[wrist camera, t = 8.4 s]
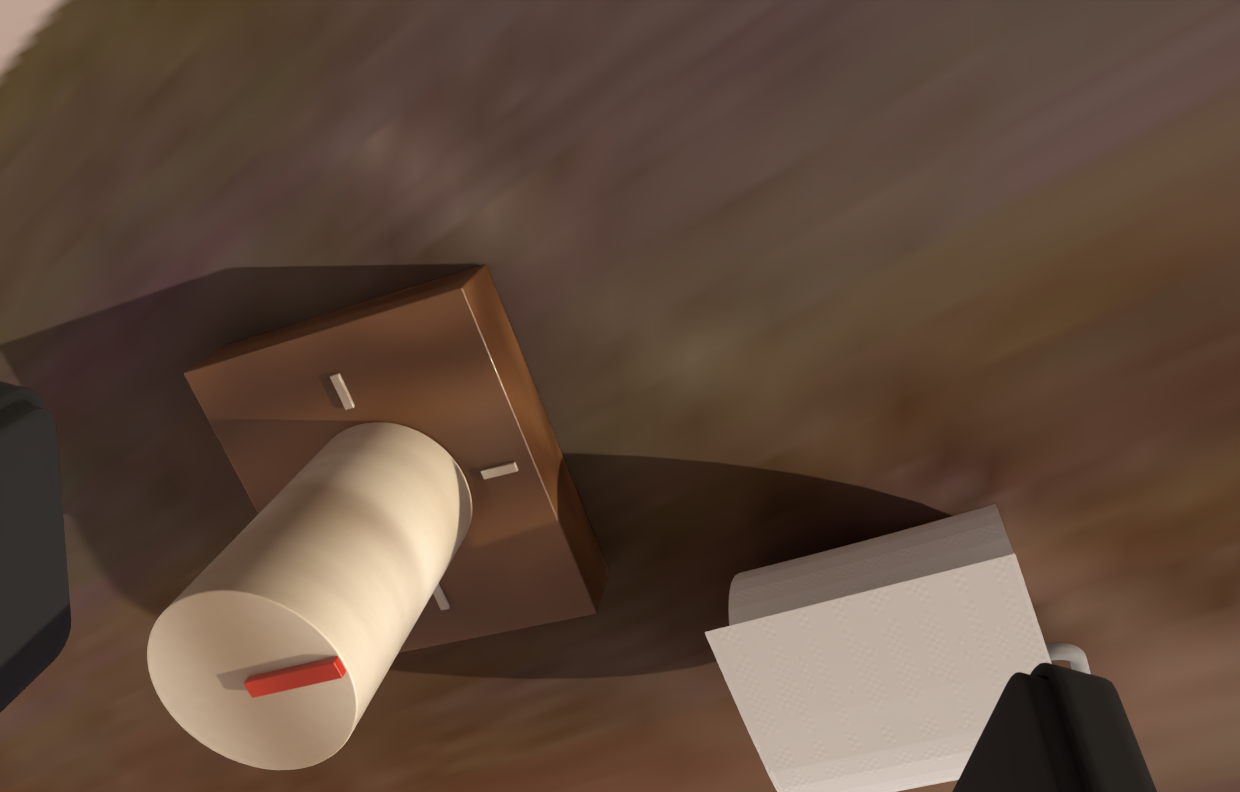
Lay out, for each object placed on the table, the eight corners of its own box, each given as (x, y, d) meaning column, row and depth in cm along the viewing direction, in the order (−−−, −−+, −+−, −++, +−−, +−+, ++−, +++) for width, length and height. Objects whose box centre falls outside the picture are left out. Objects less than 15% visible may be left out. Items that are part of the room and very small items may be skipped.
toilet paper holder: (1061, 546, 28) (1177, 915, 33) (1004, 417, 36) (1104, 729, 41) (667, 645, 32) (821, 964, 37) (693, 509, 40) (818, 786, 44)
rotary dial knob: (359, 582, 40) (210, 793, 30) (286, 446, 38) (99, 623, 28) (498, 546, 38) (390, 758, 28) (429, 401, 36) (285, 574, 26)
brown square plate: (223, 345, 40) (179, 374, 38) (486, 263, 37) (460, 288, 34) (365, 623, 45) (336, 668, 42) (610, 571, 42) (596, 616, 39)
